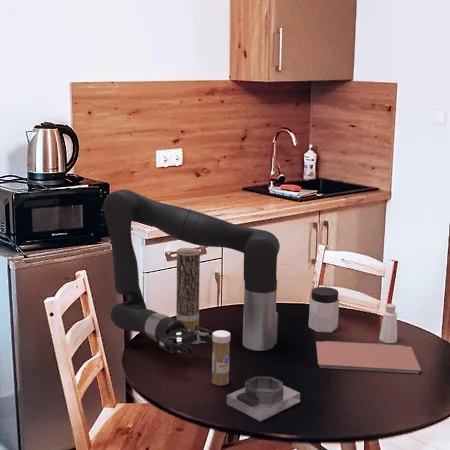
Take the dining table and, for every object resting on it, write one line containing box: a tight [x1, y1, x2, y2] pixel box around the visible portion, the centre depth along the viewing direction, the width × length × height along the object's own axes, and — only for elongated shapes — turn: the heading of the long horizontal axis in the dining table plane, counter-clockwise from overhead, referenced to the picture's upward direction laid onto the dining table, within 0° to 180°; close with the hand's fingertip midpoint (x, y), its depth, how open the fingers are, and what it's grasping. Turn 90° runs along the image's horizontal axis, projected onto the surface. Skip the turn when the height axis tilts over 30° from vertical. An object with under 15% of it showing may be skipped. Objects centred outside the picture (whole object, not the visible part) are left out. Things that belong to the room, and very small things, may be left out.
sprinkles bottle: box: [211, 329, 231, 387], centre depth 178 cm, size 5×5×14 cm
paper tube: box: [175, 247, 201, 330], centre depth 210 cm, size 7×7×25 cm
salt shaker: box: [378, 303, 398, 344], centre depth 208 cm, size 5×5×11 cm
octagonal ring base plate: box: [226, 376, 301, 422], centre depth 169 cm, size 14×11×5 cm
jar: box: [308, 286, 340, 333], centre depth 216 cm, size 9×8×12 cm
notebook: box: [315, 340, 422, 374], centre depth 196 cm, size 27×17×2 cm, turn 85°
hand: (204, 347), depth 182 cm, fingers open, 8 cm apart
